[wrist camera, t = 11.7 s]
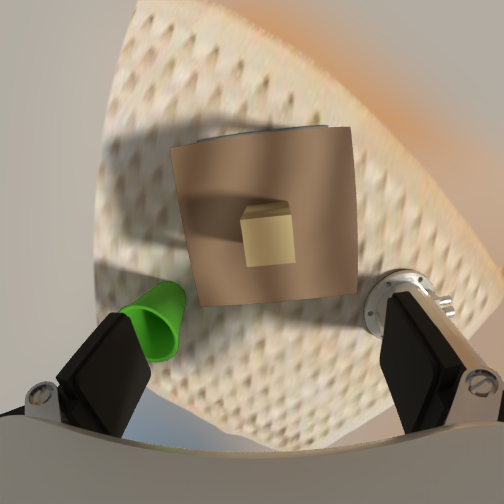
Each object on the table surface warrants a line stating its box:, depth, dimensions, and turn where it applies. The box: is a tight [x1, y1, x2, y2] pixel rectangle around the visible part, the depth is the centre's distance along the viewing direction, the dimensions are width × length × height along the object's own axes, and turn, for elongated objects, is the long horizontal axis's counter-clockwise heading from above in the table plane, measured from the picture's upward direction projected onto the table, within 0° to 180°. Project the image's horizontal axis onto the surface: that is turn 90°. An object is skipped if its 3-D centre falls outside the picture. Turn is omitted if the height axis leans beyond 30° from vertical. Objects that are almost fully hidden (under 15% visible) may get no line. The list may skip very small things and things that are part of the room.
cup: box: [118, 282, 186, 362], centre depth 39 cm, size 9×9×11 cm
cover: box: [170, 127, 358, 307], centre depth 29 cm, size 15×15×19 cm
